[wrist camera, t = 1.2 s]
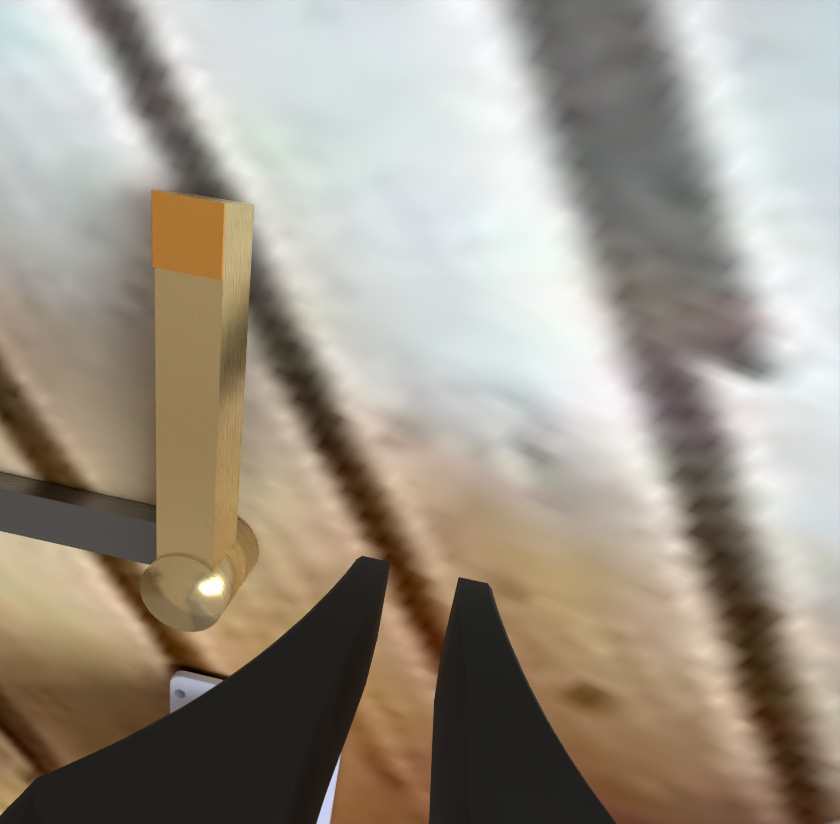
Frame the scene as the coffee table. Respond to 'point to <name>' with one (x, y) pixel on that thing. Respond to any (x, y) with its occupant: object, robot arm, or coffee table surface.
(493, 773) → the robot arm
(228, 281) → the lever
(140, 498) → the coffee table surface
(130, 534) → the levelling base
